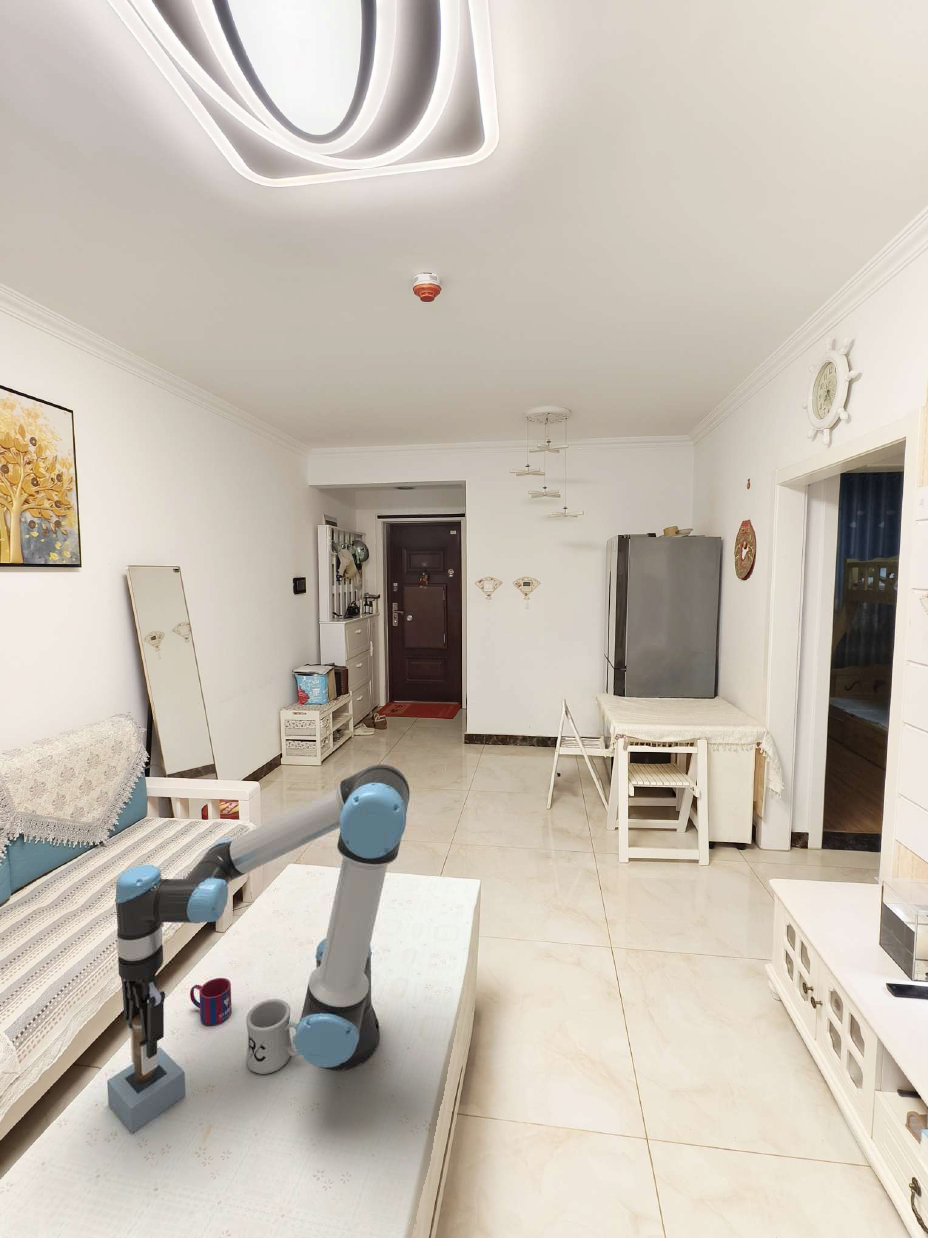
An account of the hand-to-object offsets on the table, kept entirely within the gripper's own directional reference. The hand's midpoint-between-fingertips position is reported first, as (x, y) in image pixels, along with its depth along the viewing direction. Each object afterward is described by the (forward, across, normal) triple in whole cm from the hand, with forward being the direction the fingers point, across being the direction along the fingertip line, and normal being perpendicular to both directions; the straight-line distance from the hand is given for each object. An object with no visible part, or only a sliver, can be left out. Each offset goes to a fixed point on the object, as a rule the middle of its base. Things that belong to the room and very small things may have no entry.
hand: (144, 1063), depth 113 cm
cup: (+8, +11, -20) cm, 24 cm away
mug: (+8, -12, -21) cm, 26 cm away
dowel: (+3, 0, 0) cm, 3 cm away
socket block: (+8, 0, 0) cm, 8 cm away
